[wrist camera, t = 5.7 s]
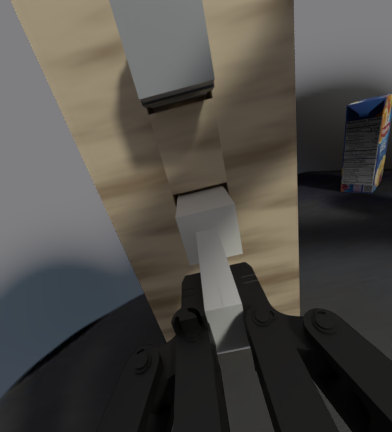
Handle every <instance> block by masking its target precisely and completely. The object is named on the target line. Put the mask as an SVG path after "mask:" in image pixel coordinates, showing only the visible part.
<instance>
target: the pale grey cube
mask: <svg viewBox="0 0 392 432" xmlns="http://www.w3.org/2000/svg"><path fill="white" fill-rule="evenodd" d="M175 218H176V222H177V225H178V228H179V232H180V235H181V238H182V241H183V245H184V248H185V251H186V254H187V258H188V261H189V264H190V265H195V264H199V256H198V247H197V238H196V232H200V231H205V230H209V229H213V228H217V230H218V233H219V236H220V239H221V242H222V245H223V248H224V251H225V254H226V257H231V256H235V255H240V254H243V250H242V244H241V238H240V232H239V226H238V219H237V213H236V207H235V203H234V202H233V200H232V199H231V197H230V196H229V194H228V193H227V191H226V190H225V188H224V187H223V186H219V187H215V188H211V189H207V190H203V191H199V192H194V193H190V194H186V195H182V196H178V199H177V208H176V216H175Z"/></svg>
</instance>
